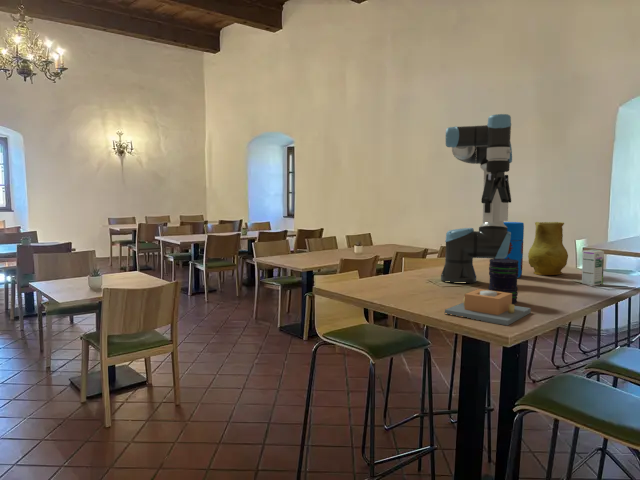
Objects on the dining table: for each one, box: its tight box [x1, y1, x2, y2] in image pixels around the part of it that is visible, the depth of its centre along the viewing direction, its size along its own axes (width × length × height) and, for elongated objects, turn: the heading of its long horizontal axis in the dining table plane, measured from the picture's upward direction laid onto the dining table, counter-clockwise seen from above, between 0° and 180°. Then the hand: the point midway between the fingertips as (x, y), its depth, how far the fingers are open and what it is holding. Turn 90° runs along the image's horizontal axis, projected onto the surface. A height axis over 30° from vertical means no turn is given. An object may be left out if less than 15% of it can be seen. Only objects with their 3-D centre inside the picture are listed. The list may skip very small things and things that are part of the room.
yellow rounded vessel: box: [527, 221, 569, 276], centre depth 226 cm, size 17×19×25 cm
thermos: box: [504, 221, 525, 279], centre depth 221 cm, size 11×11×25 cm
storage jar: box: [488, 258, 519, 305], centre depth 169 cm, size 10×10×15 cm
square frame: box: [464, 288, 512, 315], centre depth 153 cm, size 11×11×5 cm
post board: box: [444, 291, 532, 326], centre depth 153 cm, size 20×20×7 cm
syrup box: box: [581, 249, 605, 286], centre depth 201 cm, size 6×6×14 cm
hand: (496, 221), depth 166 cm, fingers open, 13 cm apart
